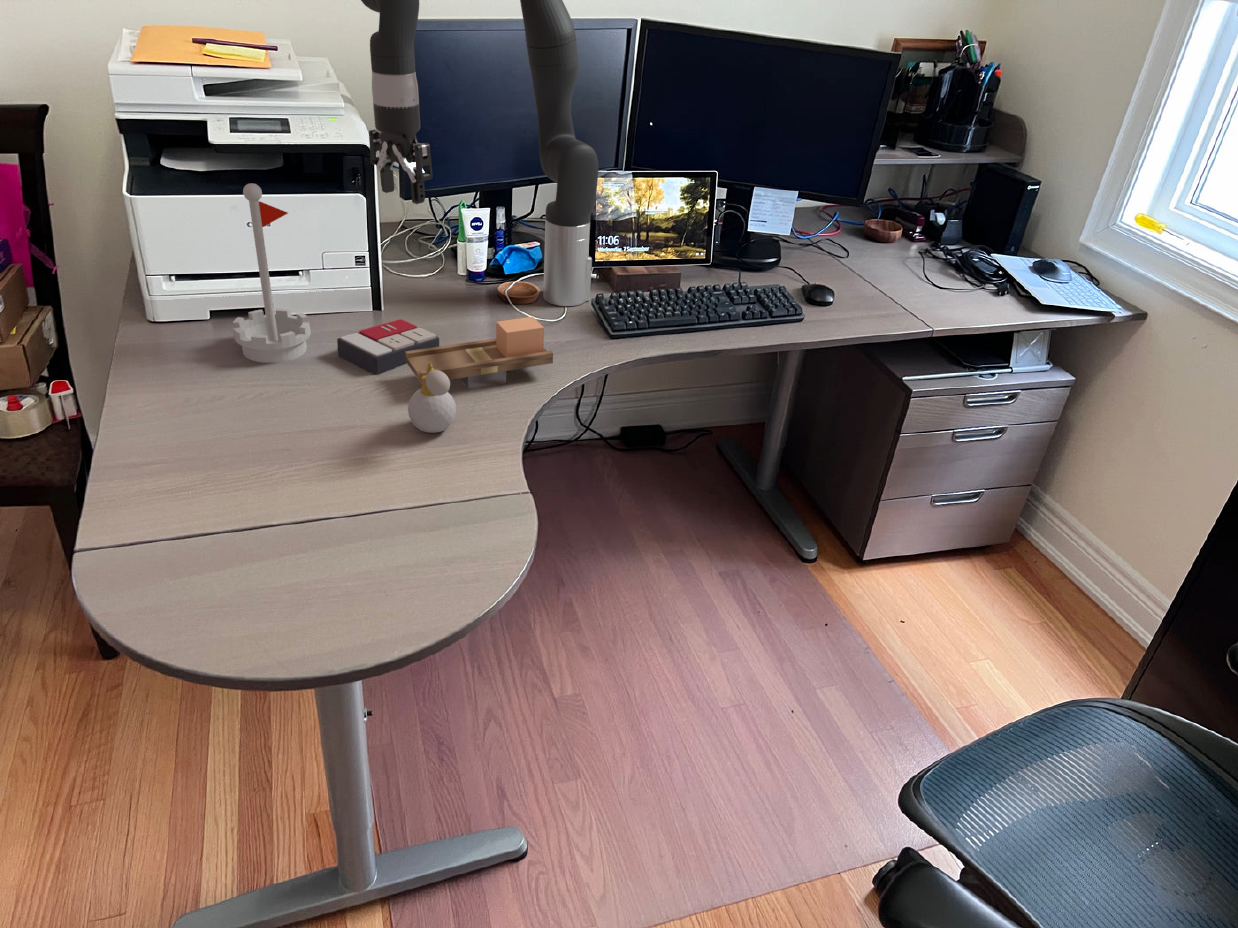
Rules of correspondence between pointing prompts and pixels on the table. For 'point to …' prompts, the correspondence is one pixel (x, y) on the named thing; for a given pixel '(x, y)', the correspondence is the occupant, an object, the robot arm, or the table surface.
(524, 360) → the beam
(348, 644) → the table surface
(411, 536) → the table surface
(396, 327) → the calculator
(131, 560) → the table surface
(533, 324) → the block
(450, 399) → the perfume bottle
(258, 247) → the flag stand
